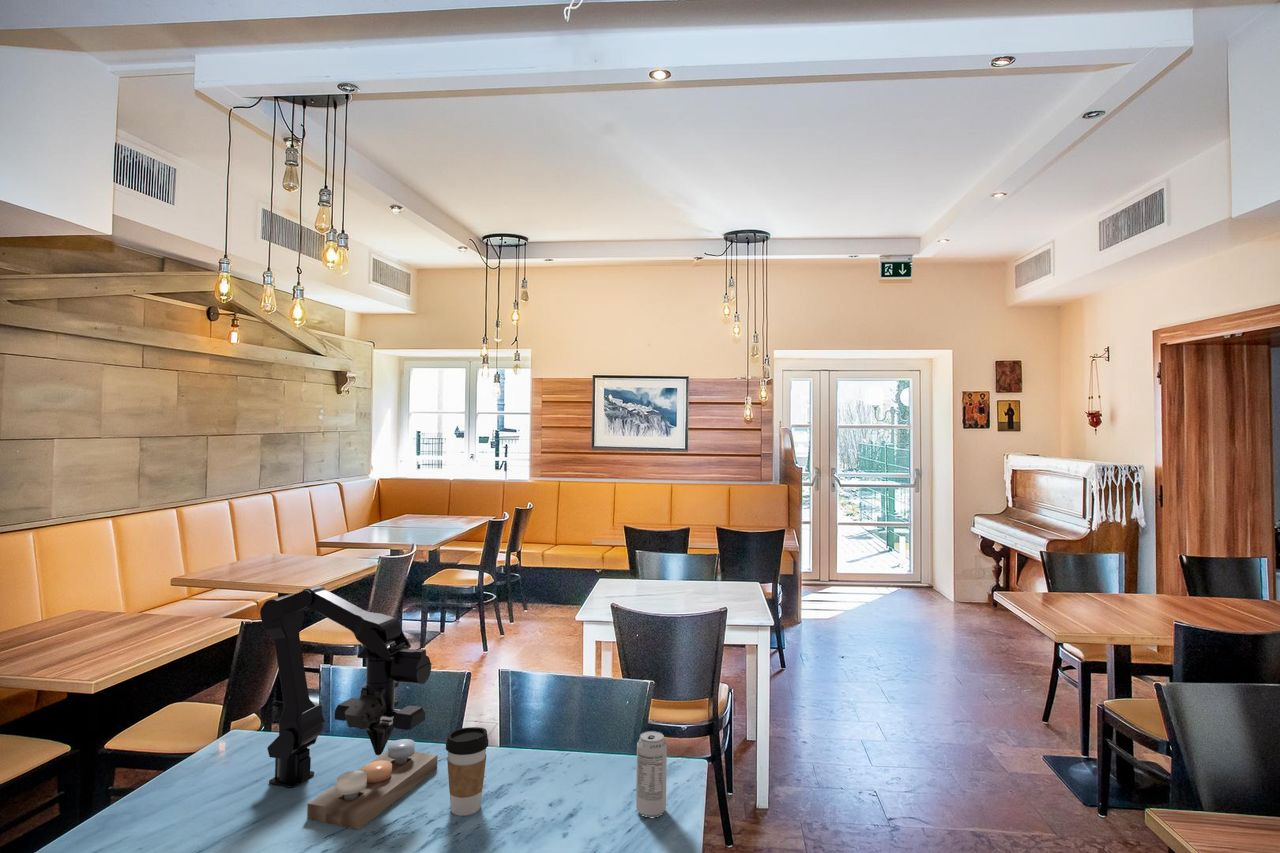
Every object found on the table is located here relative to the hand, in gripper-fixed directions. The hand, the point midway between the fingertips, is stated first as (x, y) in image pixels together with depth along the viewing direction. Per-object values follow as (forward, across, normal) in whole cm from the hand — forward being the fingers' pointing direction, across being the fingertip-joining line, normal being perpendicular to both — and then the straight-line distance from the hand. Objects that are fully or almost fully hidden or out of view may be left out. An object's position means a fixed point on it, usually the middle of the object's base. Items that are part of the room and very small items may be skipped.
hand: (378, 754), depth 143 cm
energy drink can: (+8, +57, +10) cm, 58 cm away
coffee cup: (+8, +21, 0) cm, 22 cm away
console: (+8, 0, 0) cm, 8 cm away
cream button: (+6, 0, -8) cm, 10 cm away
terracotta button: (+7, 0, 0) cm, 7 cm away
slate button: (+6, 0, +8) cm, 10 cm away
